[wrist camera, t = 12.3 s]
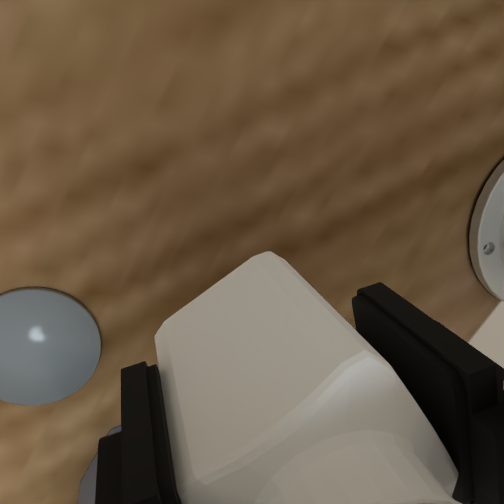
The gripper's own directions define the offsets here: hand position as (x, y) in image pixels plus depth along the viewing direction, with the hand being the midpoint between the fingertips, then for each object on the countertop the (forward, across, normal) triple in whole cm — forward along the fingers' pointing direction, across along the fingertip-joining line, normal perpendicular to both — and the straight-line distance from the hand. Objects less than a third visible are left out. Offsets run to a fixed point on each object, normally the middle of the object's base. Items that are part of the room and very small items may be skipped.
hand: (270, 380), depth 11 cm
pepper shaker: (+3, 0, 0) cm, 3 cm away
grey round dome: (+17, +10, +5) cm, 20 cm away
